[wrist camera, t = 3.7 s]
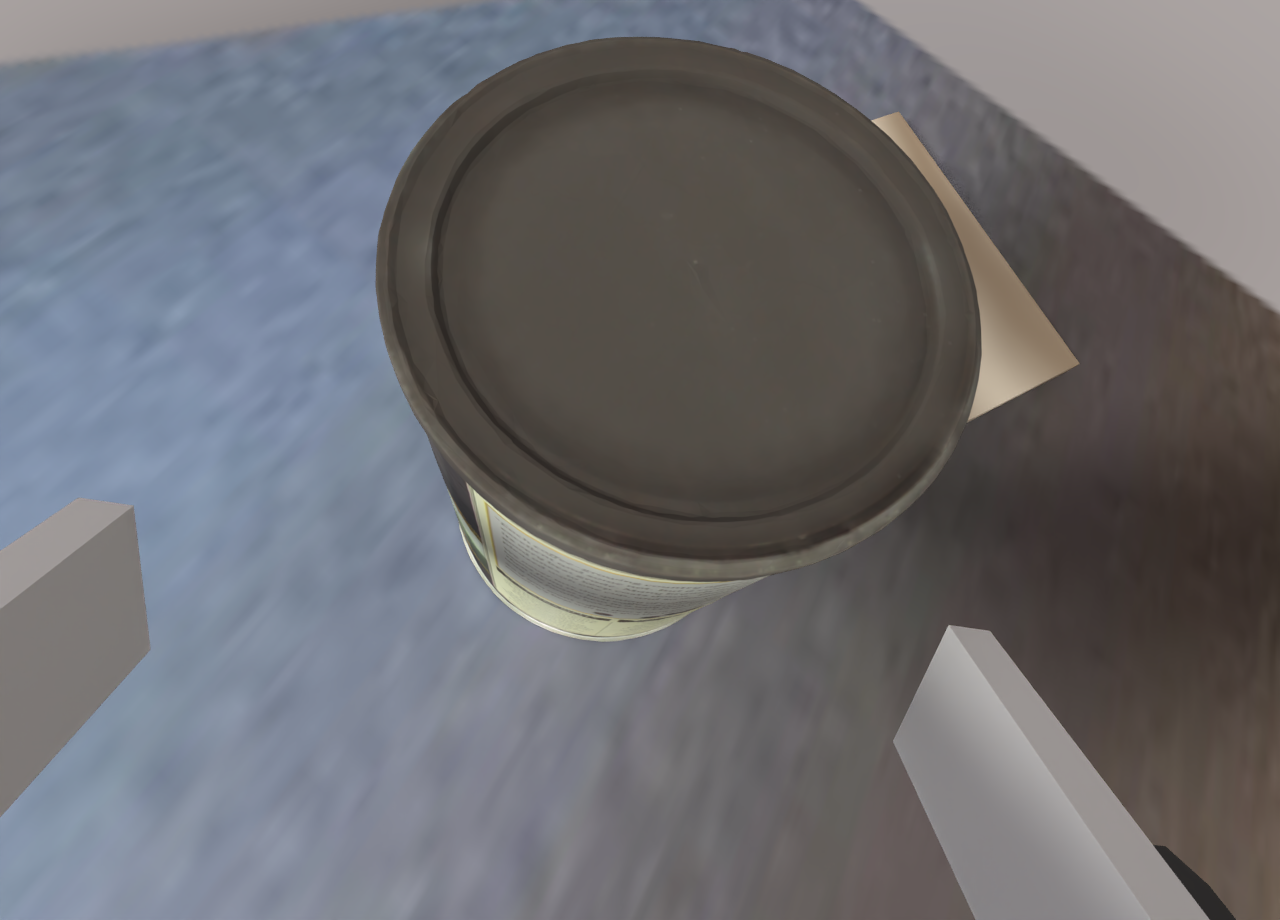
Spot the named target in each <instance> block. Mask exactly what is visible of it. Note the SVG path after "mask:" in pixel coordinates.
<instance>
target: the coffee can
mask: <svg viewBox="0 0 1280 920" xmlns="http://www.w3.org/2000/svg"><path fill="white" fill-rule="evenodd" d="M376 294H377V302H378V310H379V317H380V322H381V326H382V331H383V335H384V340H385V344H386V348H387V351H388V354H389V357H390V360H391V363H392V365H393V368H394V371H395V374H396V376H397V379H398V381H399V384H400V386H401V388H402V391H403V393H404V395H405V397H406V399H407V401H408V403H409V405H410V407H411V409H412V411H413V413H414V415H415V417H416V418H417V420H418V421H419V423H420V424H421V426H422V428H423V429H424V431H425V432H426V434H427V436H428V439H429V442H430V444H431V447H432V450H433V453H434V455H435V458H436V461H437V463H438V466H439V468H440V471H441V473H442V476H443V479H444V481H445V484H446V486H447V489H448V492H449V495H450V498H451V500H452V503H453V506H454V509H455V512H456V515H457V518H458V521H459V527H460V530H461V533H462V537H463V540H464V543H465V546H466V549H467V551H468V553H469V556H470V558H471V560H472V562H473V564H474V565H475V567H476V569H477V570H478V572H479V574H480V575H481V577H482V578H483V579H484V581H485V582H486V584H487V585H488V586H489V587H490V588H491V590H492V591H493V593H494V594H495V595H496V596H497V597H498V598H499V599H500V600H501V601H502V602H503V603H505V604H506V605H507V606H508V607H510V608H511V609H512V610H513V611H515V612H516V613H518V614H519V615H521V616H522V617H524V618H525V619H527V620H528V621H530V622H532V623H534V624H536V625H538V626H540V627H542V628H545V629H547V630H549V631H551V632H554V633H558V634H561V635H564V636H568V637H572V638H577V639H582V640H591V641H601V642H605V641H619V640H625V639H631V638H637V637H641V636H644V635H648V634H651V633H653V632H656V631H658V630H661V629H664V628H666V627H668V626H670V625H672V624H674V623H675V622H677V621H679V620H680V619H682V618H683V617H685V616H686V615H688V614H689V613H691V612H693V611H695V610H697V609H699V608H702V607H704V606H706V605H709V604H711V603H713V602H715V601H717V600H719V599H721V598H723V597H725V596H727V595H729V594H731V593H733V592H735V591H738V590H740V589H742V588H744V587H746V586H748V585H750V584H753V583H755V582H757V581H759V580H761V579H763V578H765V577H767V576H769V575H774V574H778V573H783V572H787V571H791V570H795V569H798V568H802V567H805V566H808V565H812V564H815V563H817V562H820V561H822V560H825V559H827V558H829V557H832V556H834V555H837V554H839V553H841V552H844V551H846V550H847V549H849V548H851V547H853V546H854V545H856V544H858V543H860V542H861V541H863V540H865V539H867V538H868V537H870V536H872V535H874V534H876V533H877V532H879V531H880V530H881V529H883V528H884V527H886V526H887V525H888V524H889V523H891V522H892V521H893V520H894V519H895V518H897V517H898V516H899V515H900V514H902V513H903V512H904V511H905V510H906V509H908V508H909V507H910V506H911V505H912V504H913V503H914V502H915V501H916V500H917V499H918V498H919V497H920V496H921V495H922V494H923V493H924V492H925V491H926V490H927V489H928V487H929V486H930V485H931V484H932V483H933V481H934V480H935V479H936V477H937V476H938V474H939V473H940V472H941V470H942V469H943V467H944V466H945V464H946V463H947V461H948V460H949V458H950V456H951V455H952V453H953V451H954V449H955V447H956V445H957V443H958V441H959V439H960V437H961V434H962V432H963V430H964V428H965V426H966V423H967V421H968V418H969V416H970V412H971V409H972V405H973V402H974V398H975V394H976V389H977V385H978V381H979V373H980V365H981V357H982V343H981V321H980V310H979V305H978V298H977V290H976V287H975V283H974V279H973V275H972V272H971V269H970V265H969V263H968V260H967V257H966V254H965V251H964V248H963V245H962V243H961V240H960V238H959V236H958V234H957V231H956V229H955V227H954V225H953V222H952V220H951V218H950V216H949V214H948V212H947V210H946V208H945V207H944V205H943V203H942V202H941V200H940V199H939V197H938V195H937V194H936V192H935V191H934V189H933V188H932V186H931V185H930V184H929V182H928V181H927V180H926V178H925V177H924V176H923V174H922V173H921V172H920V170H919V169H918V168H917V166H916V165H915V164H914V162H913V161H912V160H911V159H910V158H909V157H908V156H907V154H906V153H905V152H904V151H903V150H902V149H901V148H900V147H899V146H898V145H897V144H896V143H895V142H894V141H893V140H892V139H891V138H890V137H889V136H888V135H887V134H886V133H885V132H884V131H883V130H881V129H880V128H879V127H878V126H877V125H876V124H875V123H873V122H872V121H871V120H870V119H868V118H867V117H866V116H865V115H863V114H862V113H861V112H859V111H858V110H857V109H856V108H854V107H853V106H851V105H850V104H848V103H847V102H846V101H844V100H843V99H841V98H840V97H839V96H837V95H836V94H834V93H832V92H831V91H829V90H828V89H826V88H824V87H823V86H821V85H819V84H818V83H816V82H814V81H812V80H810V79H809V78H807V77H805V76H803V75H801V74H799V73H797V72H795V71H794V70H792V69H789V68H787V67H784V66H782V65H779V64H777V63H775V62H772V61H770V60H768V59H765V58H762V57H759V56H756V55H753V54H750V53H747V52H741V51H739V50H736V49H733V48H727V47H722V46H717V45H713V44H709V43H704V42H700V41H691V40H681V39H672V38H660V37H615V38H605V39H595V40H589V41H585V42H580V43H575V44H569V45H565V46H562V47H559V48H556V49H552V50H549V51H546V52H542V53H539V54H536V55H534V56H532V57H530V58H527V59H524V60H522V61H519V62H517V63H515V64H513V65H511V66H509V67H507V68H505V69H503V70H502V71H500V72H498V73H496V74H495V75H493V76H491V77H489V78H488V79H486V80H484V81H482V82H481V83H479V84H477V85H476V86H475V87H474V88H473V89H472V90H471V91H470V92H469V93H468V94H466V95H464V96H462V97H461V98H460V99H458V100H457V101H456V102H454V103H453V104H452V105H451V106H450V107H449V108H448V109H447V110H446V111H445V112H444V113H443V114H442V115H441V116H440V117H439V118H438V119H437V120H436V121H435V122H434V123H433V125H432V126H431V127H430V128H429V129H428V130H427V132H426V133H425V134H424V135H423V137H422V138H421V139H420V141H419V142H418V143H417V145H416V146H415V147H414V149H413V150H412V152H411V153H410V155H409V157H408V158H407V160H406V162H405V163H404V165H403V167H402V169H401V171H400V173H399V175H398V177H397V179H396V182H395V184H394V187H393V190H392V192H391V195H390V198H389V201H388V203H387V206H386V209H385V212H384V216H383V220H382V223H381V227H380V230H379V235H378V245H377V259H376Z"/></svg>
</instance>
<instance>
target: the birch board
mask: <svg viewBox="0 0 1280 920" xmlns="http://www.w3.org/2000/svg"><path fill="white" fill-rule="evenodd" d="M872 122H873V123H875V124H876V125H877V126H878V127H879V128H880V129H881V130H883V131H884V132H885V133H886V134H887V135H888V136H889V137H890V138H891V139H892V140H893V141H894V142H895V143H896V144H897V145H898V146H899V147H900V148H901V149H902V150H903V151H904V152H905V153H906V154H907V156H908V157H909V158H910V159H911V160H912V161H913V162H914V164H915V165H916V166H917V168H918V169H919V170H920V172H921V173H922V174H923V176H924V177H925V178H926V180H927V181H928V182H929V184H930V185H931V186H932V188H933V189H934V191H935V192H936V194H937V195H938V197H939V199H940V200H941V202H942V203H943V205H944V207H945V208H946V210H947V212H948V214H949V216H950V218H951V220H952V222H953V225H954V227H955V229H956V231H957V234H958V236H959V238H960V240H961V243H962V245H963V248H964V251H965V254H966V257H967V260H968V263H969V265H970V269H971V272H972V275H973V279H974V283H975V287H976V290H977V298H978V305H979V310H980V321H981V343H982V357H981V365H980V373H979V381H978V385H977V389H976V394H975V398H974V402H973V405H972V409H971V412H970V416H969V418H968V421H967V422H969V421H971V420H973V419H975V418H977V417H979V416H981V415H983V414H985V413H987V412H989V411H991V410H993V409H995V408H997V407H999V406H1001V405H1003V404H1004V403H1006V402H1008V401H1010V400H1012V399H1014V398H1016V397H1018V396H1020V395H1022V394H1024V393H1026V392H1028V391H1030V390H1032V389H1034V388H1036V387H1038V386H1040V385H1042V384H1044V383H1045V382H1047V381H1049V380H1051V379H1053V378H1055V377H1057V376H1059V375H1061V374H1063V373H1065V372H1067V371H1068V370H1070V369H1072V368H1073V367H1075V366H1077V365H1078V364H1079V362H1078V361H1077V359H1076V358H1075V357H1074V355H1073V354H1072V352H1071V351H1070V350H1069V348H1068V347H1067V345H1066V344H1065V343H1064V341H1063V340H1062V338H1061V337H1060V336H1059V334H1058V333H1057V331H1056V330H1055V329H1054V327H1053V326H1052V324H1051V323H1050V322H1049V320H1048V319H1047V318H1046V316H1045V315H1044V313H1043V312H1042V311H1041V309H1040V308H1039V306H1038V305H1037V304H1036V302H1035V301H1034V299H1033V298H1032V297H1031V295H1030V294H1029V292H1028V291H1027V290H1026V288H1025V287H1024V285H1023V284H1022V283H1021V281H1020V280H1019V278H1018V277H1017V276H1016V274H1015V273H1014V272H1013V270H1012V269H1011V267H1010V266H1009V265H1008V263H1007V262H1006V260H1005V259H1004V258H1003V256H1002V255H1001V253H1000V252H999V251H998V249H997V248H996V246H995V245H994V244H993V242H992V241H991V239H990V238H989V237H988V235H987V234H986V233H985V231H984V230H983V228H982V227H981V226H980V224H979V223H978V221H977V220H976V219H975V217H974V216H973V214H972V213H971V212H970V210H969V209H968V207H967V206H966V205H965V203H964V202H963V200H962V199H961V198H960V196H959V195H958V193H957V192H956V191H955V189H954V188H953V187H952V185H951V184H950V182H949V181H948V180H947V178H946V177H945V175H944V174H943V173H942V171H941V170H940V168H939V167H938V166H937V164H936V163H935V161H934V160H933V159H932V157H931V156H930V154H929V153H928V152H927V150H926V149H925V148H924V146H923V145H922V143H921V142H920V141H919V139H918V138H917V136H916V135H915V134H914V132H913V131H912V129H911V128H910V127H909V125H908V124H907V122H906V121H905V120H904V118H903V117H902V115H901V114H900V113H899V112H896V113H893V114H890V115H887V116H884V117H881V118H878V119H875V120H872Z"/></svg>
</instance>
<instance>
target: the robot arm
mask: <svg viewBox="0 0 1280 920" xmlns="http://www.w3.org/2000/svg"><path fill="white" fill-rule="evenodd" d="M149 651H150V641H149V632H148V624H147V615H146V607H145V598H144V590H143V582H142V573H141V565H140V556H139V548H138V539H137V531H136V522H135V514H134V506H132V505H125V504H118V503H111V502H105V501H98V500H91V499H84V498H77V499H76V500H74V501H73V502H71V503H70V504H68V505H67V506H66V507H64V508H63V509H61V510H60V511H58V512H57V513H55V514H54V515H52V516H51V517H49V518H48V519H46V520H45V521H44V522H42V523H41V524H39V525H38V526H36V527H35V528H33V529H32V530H30V531H29V532H27V533H26V534H24V535H23V536H22V537H20V538H19V539H17V540H16V541H14V542H13V543H11V544H10V545H8V546H7V547H5V548H4V549H2V550H1V551H0V817H1V816H2V815H3V814H4V813H5V811H6V810H7V809H8V808H9V807H10V806H11V805H12V804H13V802H14V801H15V800H16V799H17V798H18V797H19V796H20V795H21V794H22V792H23V791H24V790H25V789H26V788H27V787H28V786H29V785H30V783H31V782H32V781H33V780H34V779H35V778H36V777H37V776H38V775H39V773H40V772H41V771H42V770H43V769H44V768H45V767H46V766H47V765H48V763H49V762H50V761H51V760H52V759H53V758H54V757H55V756H56V754H57V753H58V752H59V751H60V750H61V749H62V748H63V747H64V746H65V744H66V743H67V742H68V741H69V740H70V739H71V738H72V737H73V735H74V734H75V733H76V732H77V731H78V730H79V729H80V728H81V727H82V725H83V724H84V723H85V722H86V721H87V720H88V719H89V718H90V716H91V715H92V714H93V713H94V712H95V711H96V710H97V709H98V708H99V706H100V705H101V704H102V703H103V702H104V701H105V700H106V699H107V697H108V696H109V695H110V694H111V693H112V692H113V691H114V690H115V689H116V687H117V686H118V685H119V684H120V683H121V682H122V681H123V680H124V678H125V677H126V676H127V675H128V674H129V673H130V672H131V671H132V670H133V668H134V667H135V666H136V665H137V664H138V663H139V662H140V661H141V660H142V658H143V657H144V656H145V655H146V654H147V653H148V652H149ZM893 742H894V745H895V747H896V749H897V751H898V753H899V755H900V758H901V760H902V762H903V764H904V766H905V768H906V771H907V773H908V775H909V777H910V779H911V781H912V784H913V786H914V788H915V790H916V792H917V794H918V796H919V799H920V801H921V803H922V805H923V807H924V809H925V812H926V814H927V816H928V818H929V820H930V822H931V825H932V827H933V829H934V831H935V833H936V835H937V838H938V840H939V842H940V844H941V846H942V848H943V850H944V853H945V855H946V857H947V859H948V861H949V863H950V866H951V868H952V870H953V872H954V874H955V876H956V879H957V881H958V883H959V885H960V887H961V889H962V892H963V894H964V896H965V898H966V900H967V902H968V904H969V907H970V909H971V911H972V913H973V915H974V917H975V920H1236V919H1235V918H1234V916H1233V915H1232V914H1231V913H1230V911H1229V910H1228V909H1227V908H1226V906H1225V905H1224V904H1223V903H1222V901H1221V900H1220V899H1219V898H1218V896H1217V895H1216V894H1215V893H1214V891H1213V890H1212V889H1211V888H1210V886H1209V885H1208V884H1207V883H1206V882H1204V881H1203V880H1202V879H1201V878H1200V877H1199V876H1198V875H1197V874H1196V873H1194V872H1193V871H1192V870H1191V869H1190V868H1189V867H1188V866H1187V865H1186V864H1184V863H1183V862H1182V861H1181V860H1180V859H1179V858H1178V857H1177V856H1176V855H1174V854H1173V853H1172V852H1171V851H1170V850H1169V849H1168V848H1167V847H1165V846H1157V845H1152V843H1151V842H1150V841H1149V839H1148V838H1147V837H1146V835H1145V834H1144V833H1143V831H1142V830H1141V829H1140V827H1139V826H1138V825H1137V824H1136V822H1135V821H1134V820H1133V818H1132V817H1131V816H1130V814H1129V813H1128V812H1127V810H1126V809H1125V808H1124V806H1123V805H1122V804H1121V803H1120V801H1119V800H1118V799H1117V797H1116V796H1115V795H1114V793H1113V792H1112V791H1111V789H1110V788H1109V787H1108V785H1107V784H1106V783H1105V782H1104V780H1103V779H1102V778H1101V776H1100V775H1099V774H1098V772H1097V771H1096V770H1095V768H1094V767H1093V766H1092V764H1091V763H1090V762H1089V760H1088V759H1087V758H1086V757H1085V755H1084V754H1083V753H1082V751H1081V750H1080V749H1079V747H1078V746H1077V745H1076V743H1075V742H1074V741H1073V739H1072V738H1071V737H1070V736H1069V734H1068V733H1067V732H1066V730H1065V729H1064V728H1063V726H1062V725H1061V724H1060V722H1059V721H1058V720H1057V718H1056V717H1055V716H1054V714H1053V713H1052V712H1051V711H1050V709H1049V708H1048V707H1047V705H1046V704H1045V703H1044V701H1043V700H1042V699H1041V697H1040V696H1039V695H1038V693H1037V692H1036V691H1035V690H1034V688H1033V687H1032V686H1031V684H1030V683H1029V682H1028V680H1027V679H1026V678H1025V676H1024V675H1023V674H1022V672H1021V671H1020V670H1019V669H1018V667H1017V666H1016V665H1015V663H1014V662H1013V661H1012V659H1011V658H1010V657H1009V655H1008V654H1007V653H1006V651H1005V650H1004V649H1003V647H1002V646H1001V645H1000V644H999V642H998V641H997V640H996V638H995V637H994V636H993V634H992V633H991V632H990V631H987V630H980V629H973V628H967V627H960V626H953V625H948V628H947V630H946V632H945V634H944V636H943V638H942V640H941V642H940V644H939V646H938V648H937V650H936V653H935V655H934V657H933V659H932V661H931V663H930V665H929V667H928V669H927V671H926V673H925V676H924V678H923V680H922V682H921V684H920V686H919V688H918V690H917V692H916V694H915V696H914V698H913V701H912V703H911V705H910V707H909V709H908V711H907V713H906V715H905V717H904V719H903V721H902V724H901V726H900V728H899V730H898V732H897V734H896V736H895V738H894V740H893Z"/></svg>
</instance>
